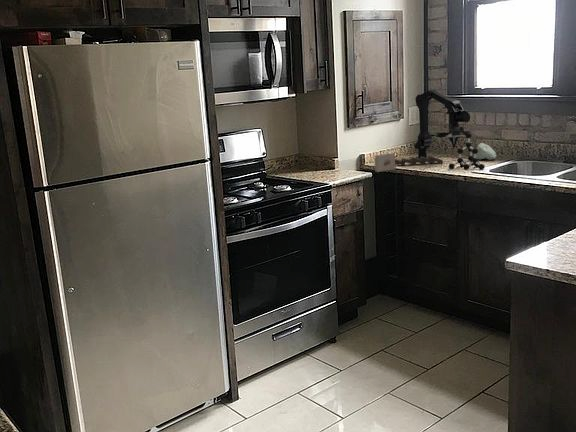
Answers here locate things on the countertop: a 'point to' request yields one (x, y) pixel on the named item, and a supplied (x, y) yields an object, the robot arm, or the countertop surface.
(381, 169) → the fossil
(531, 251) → the countertop surface
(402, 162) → the domino
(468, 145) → the molecular model
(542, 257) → the countertop surface
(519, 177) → the countertop surface
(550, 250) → the countertop surface
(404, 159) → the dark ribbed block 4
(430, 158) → the domino
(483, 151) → the decorative stone
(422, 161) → the domino
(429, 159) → the domino
